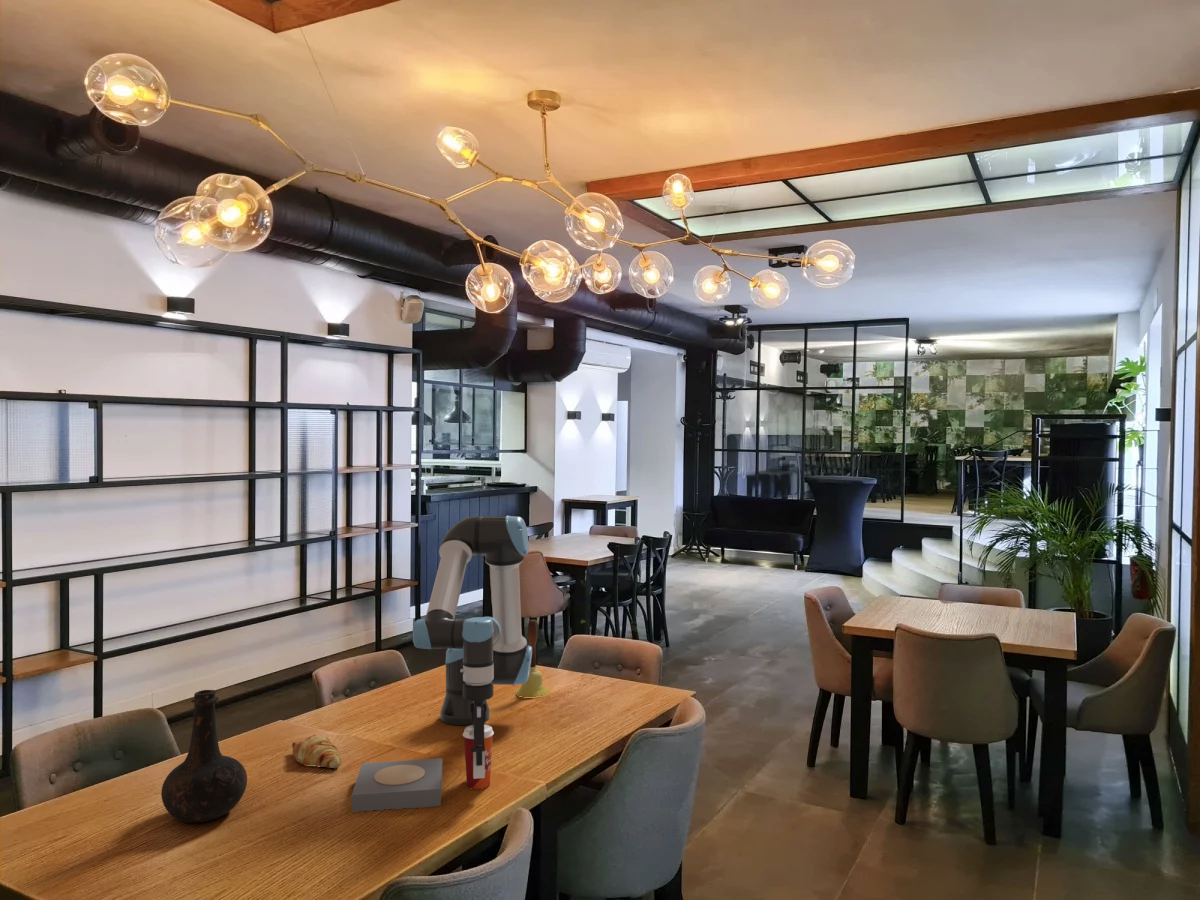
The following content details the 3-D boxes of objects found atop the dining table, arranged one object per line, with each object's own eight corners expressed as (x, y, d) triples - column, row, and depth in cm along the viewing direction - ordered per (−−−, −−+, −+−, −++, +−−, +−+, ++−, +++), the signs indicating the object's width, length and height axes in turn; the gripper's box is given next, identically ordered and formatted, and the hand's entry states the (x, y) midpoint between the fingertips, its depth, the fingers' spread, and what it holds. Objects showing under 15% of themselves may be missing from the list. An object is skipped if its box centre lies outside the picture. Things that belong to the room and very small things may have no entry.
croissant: (348, 780, 219) (360, 749, 222) (318, 773, 212) (331, 741, 215) (302, 761, 232) (314, 732, 235) (273, 753, 225) (285, 723, 228)
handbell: (514, 689, 292) (514, 617, 292) (549, 687, 293) (549, 616, 293) (514, 699, 279) (514, 624, 280) (551, 697, 281) (551, 623, 281)
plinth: (361, 779, 211) (361, 761, 211) (442, 773, 214) (442, 756, 214) (351, 812, 191) (351, 793, 191) (440, 806, 195) (440, 787, 195)
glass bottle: (191, 839, 178) (190, 708, 179) (144, 820, 188) (144, 695, 188) (263, 809, 194) (263, 688, 194) (217, 792, 203) (217, 677, 203)
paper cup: (488, 792, 202) (487, 734, 202) (458, 790, 204) (457, 732, 204) (498, 780, 210) (498, 724, 210) (469, 777, 211) (469, 722, 212)
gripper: (462, 669, 219) (462, 751, 218) (463, 696, 194) (463, 788, 194) (491, 668, 220) (491, 749, 220) (495, 694, 195) (495, 785, 195)
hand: (478, 767), depth 207 cm, fingers open, 13 cm apart
